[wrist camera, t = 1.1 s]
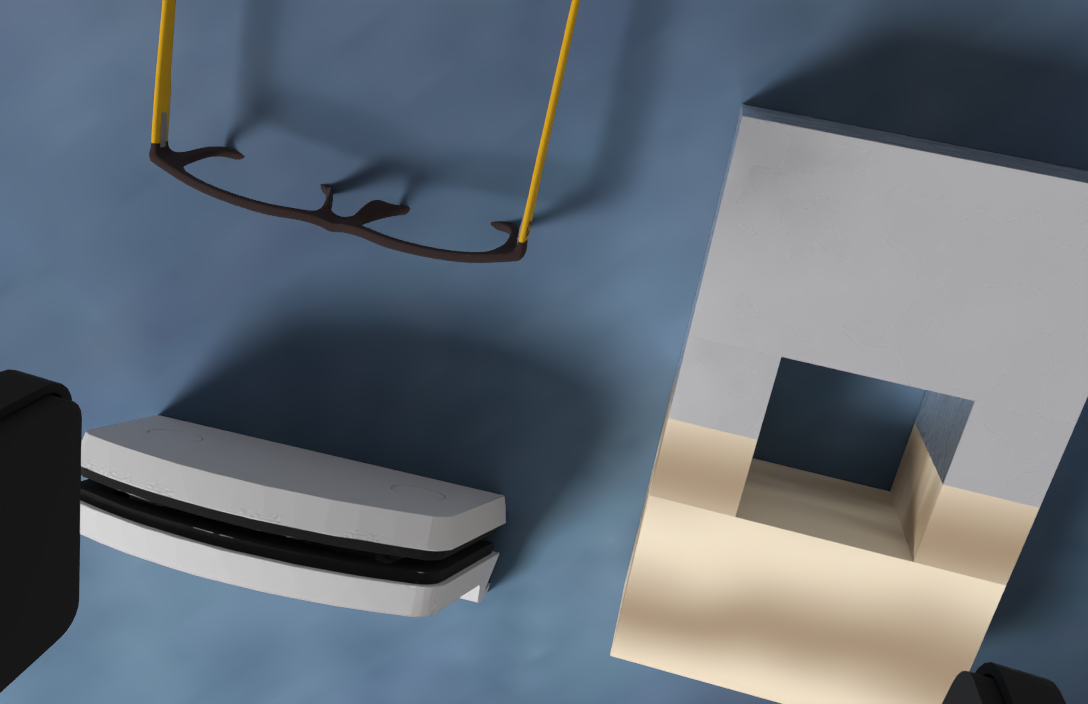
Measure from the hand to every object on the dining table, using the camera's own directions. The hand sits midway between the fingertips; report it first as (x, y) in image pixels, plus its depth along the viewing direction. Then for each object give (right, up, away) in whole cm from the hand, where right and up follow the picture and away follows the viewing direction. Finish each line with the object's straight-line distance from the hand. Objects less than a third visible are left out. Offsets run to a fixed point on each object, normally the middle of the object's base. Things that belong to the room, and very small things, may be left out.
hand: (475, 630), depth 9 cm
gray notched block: (+13, +6, +23) cm, 27 cm away
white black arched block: (-9, -3, +31) cm, 32 cm away
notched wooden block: (+11, -4, +26) cm, 29 cm away
